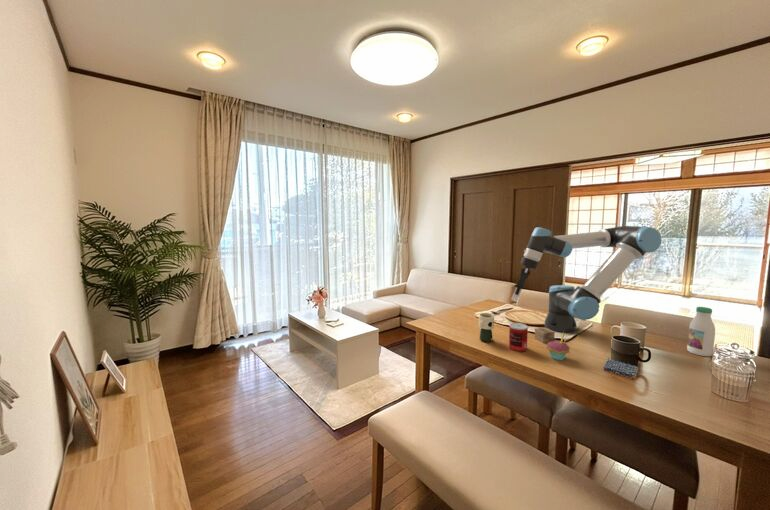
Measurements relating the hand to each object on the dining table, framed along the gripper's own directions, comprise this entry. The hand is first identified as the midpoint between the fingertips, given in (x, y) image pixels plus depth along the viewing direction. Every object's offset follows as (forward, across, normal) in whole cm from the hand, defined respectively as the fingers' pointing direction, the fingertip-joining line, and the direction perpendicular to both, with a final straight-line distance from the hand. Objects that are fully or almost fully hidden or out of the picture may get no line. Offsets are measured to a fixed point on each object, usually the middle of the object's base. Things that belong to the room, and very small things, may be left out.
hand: (514, 299), depth 147 cm
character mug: (+24, +2, -5) cm, 25 cm away
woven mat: (+9, +12, +45) cm, 48 cm away
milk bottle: (-7, -16, +76) cm, 78 cm away
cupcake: (+16, +10, +24) cm, 31 cm away
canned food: (+20, +6, +10) cm, 23 cm away
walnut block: (+14, -8, +20) cm, 25 cm away
